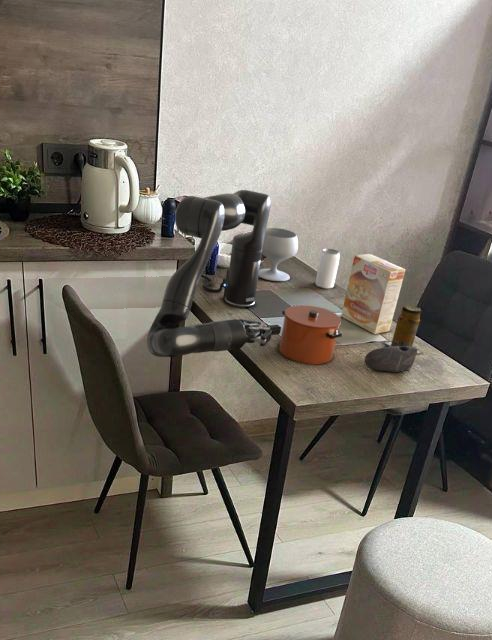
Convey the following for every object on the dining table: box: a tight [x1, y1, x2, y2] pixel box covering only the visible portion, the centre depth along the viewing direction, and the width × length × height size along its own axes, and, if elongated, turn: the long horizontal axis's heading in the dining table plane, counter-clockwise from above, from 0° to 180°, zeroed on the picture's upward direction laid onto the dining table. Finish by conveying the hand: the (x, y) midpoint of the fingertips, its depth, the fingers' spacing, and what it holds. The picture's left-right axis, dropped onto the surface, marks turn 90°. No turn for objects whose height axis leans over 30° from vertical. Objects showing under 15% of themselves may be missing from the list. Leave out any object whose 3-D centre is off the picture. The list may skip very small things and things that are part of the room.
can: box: [314, 248, 341, 290], centre depth 248 cm, size 6×6×12 cm
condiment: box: [384, 304, 422, 354], centre depth 209 cm, size 7×8×12 cm
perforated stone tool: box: [364, 346, 418, 373], centre depth 195 cm, size 15×5×7 cm, turn 98°
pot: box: [278, 304, 343, 365], centre depth 198 cm, size 19×15×12 cm
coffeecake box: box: [340, 253, 406, 335], centre depth 220 cm, size 15×7×20 cm, turn 36°
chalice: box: [258, 227, 299, 282], centre depth 249 cm, size 14×14×15 cm
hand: (279, 329), depth 192 cm, fingers closed
